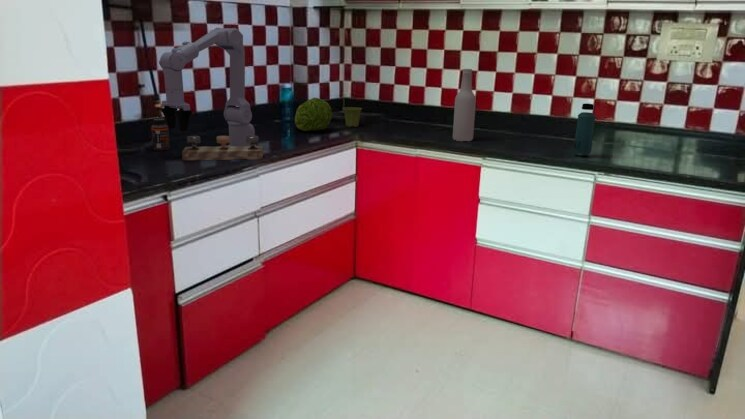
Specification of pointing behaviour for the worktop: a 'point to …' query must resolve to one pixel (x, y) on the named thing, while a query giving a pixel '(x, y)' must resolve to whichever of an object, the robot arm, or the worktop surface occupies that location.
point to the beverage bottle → (584, 130)
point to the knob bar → (222, 153)
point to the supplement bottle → (160, 135)
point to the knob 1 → (193, 141)
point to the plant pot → (352, 116)
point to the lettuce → (313, 115)
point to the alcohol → (464, 109)
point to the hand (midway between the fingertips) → (177, 129)
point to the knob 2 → (252, 140)
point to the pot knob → (223, 140)
